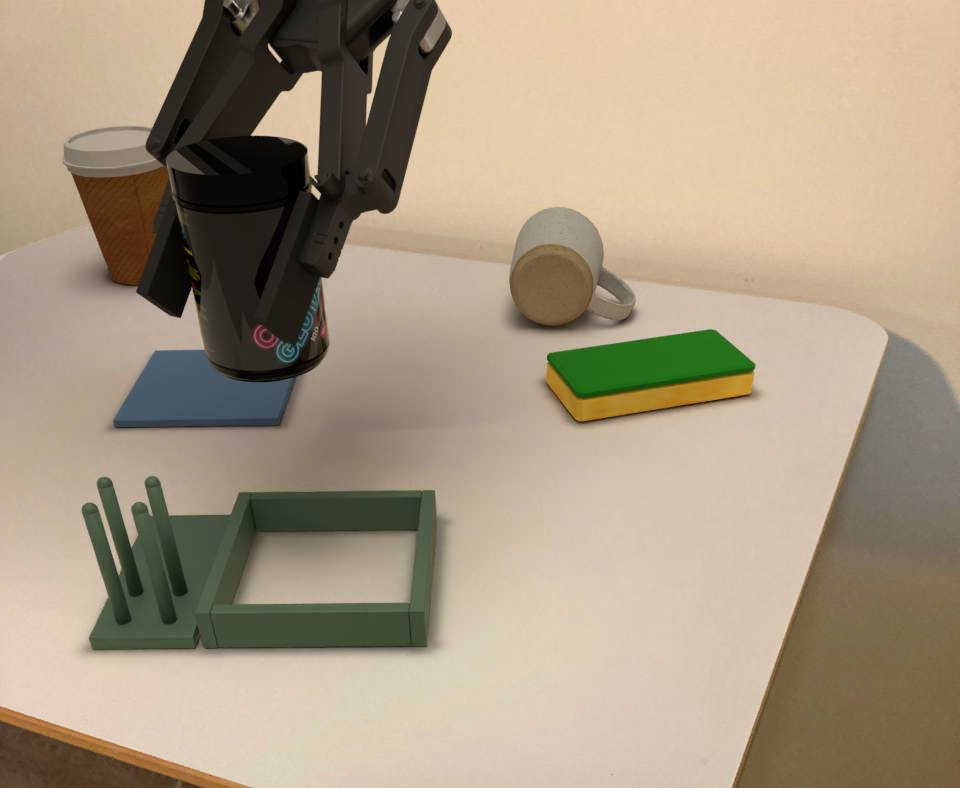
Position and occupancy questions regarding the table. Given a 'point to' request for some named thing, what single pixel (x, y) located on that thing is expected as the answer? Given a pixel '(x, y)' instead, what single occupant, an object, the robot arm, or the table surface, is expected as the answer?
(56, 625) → the table surface
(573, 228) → the ceramic mug
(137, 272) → the disposable coffee cup
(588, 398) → the dish sponge
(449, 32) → the robot arm
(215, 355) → the supplement container
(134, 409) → the blue mat
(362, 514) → the dish rack
